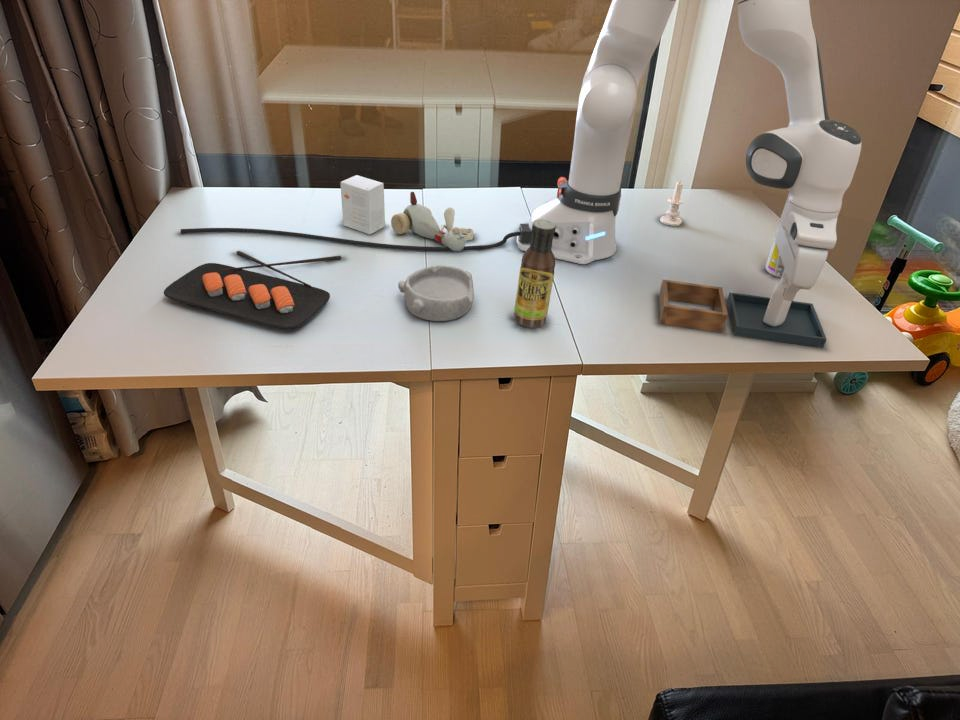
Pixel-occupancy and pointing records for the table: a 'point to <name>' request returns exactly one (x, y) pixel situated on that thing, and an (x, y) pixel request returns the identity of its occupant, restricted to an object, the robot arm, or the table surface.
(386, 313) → the table surface
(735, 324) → the tray
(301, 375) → the table surface
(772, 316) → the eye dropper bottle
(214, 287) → the sushi plate
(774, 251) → the supplement bottle
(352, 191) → the small box
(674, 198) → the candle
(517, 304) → the sauce bottle
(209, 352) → the table surface
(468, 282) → the dish
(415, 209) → the toy dog
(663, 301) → the crate
